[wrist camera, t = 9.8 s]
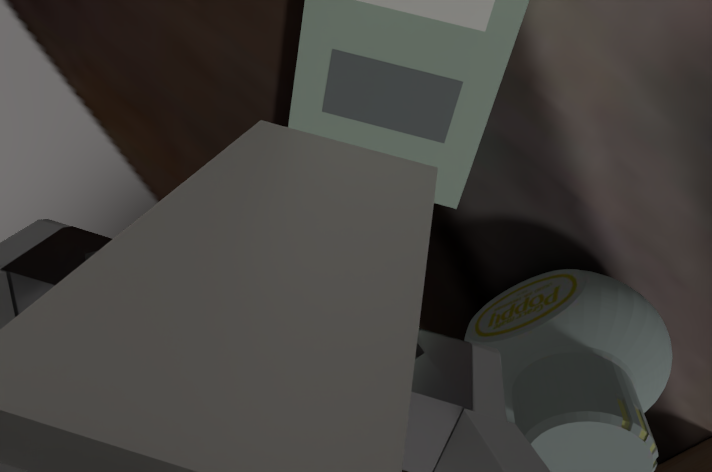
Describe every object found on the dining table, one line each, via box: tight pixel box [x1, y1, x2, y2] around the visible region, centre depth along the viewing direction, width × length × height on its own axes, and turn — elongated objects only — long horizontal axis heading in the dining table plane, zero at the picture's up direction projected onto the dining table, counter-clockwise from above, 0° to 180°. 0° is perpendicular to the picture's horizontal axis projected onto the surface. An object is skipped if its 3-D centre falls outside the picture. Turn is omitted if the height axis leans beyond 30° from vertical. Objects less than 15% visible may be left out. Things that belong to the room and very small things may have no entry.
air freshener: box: [464, 269, 672, 472], centre depth 26 cm, size 11×8×10 cm
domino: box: [0, 120, 438, 472], centre depth 11 cm, size 2×6×11 cm, turn 79°
